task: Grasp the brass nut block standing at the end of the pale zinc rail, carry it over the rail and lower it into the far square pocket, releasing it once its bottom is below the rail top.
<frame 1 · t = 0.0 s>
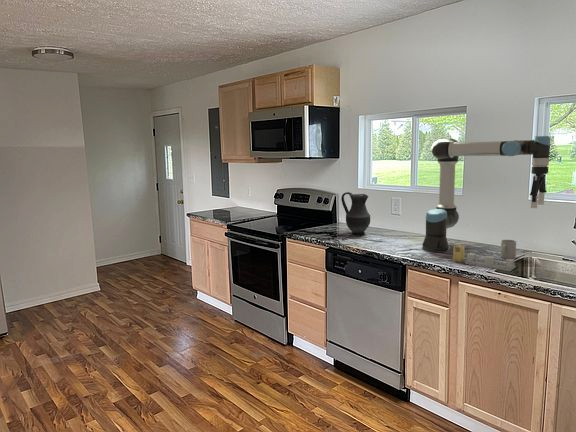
hand: (537, 206, 223), 28 cm above the worktop, fingers open, 13 cm apart
cup: (506, 257, 229), on the worktop
pitcher: (355, 234, 299), on the worktop
rail: (489, 265, 216), on the worktop
nut block: (458, 260, 227), on the worktop
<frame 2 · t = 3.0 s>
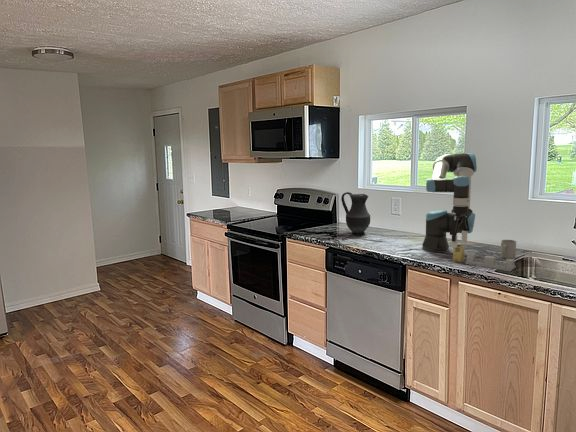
hand: (459, 245, 225), 9 cm above the worktop, fingers open, 13 cm apart
nothing on the worktop moved.
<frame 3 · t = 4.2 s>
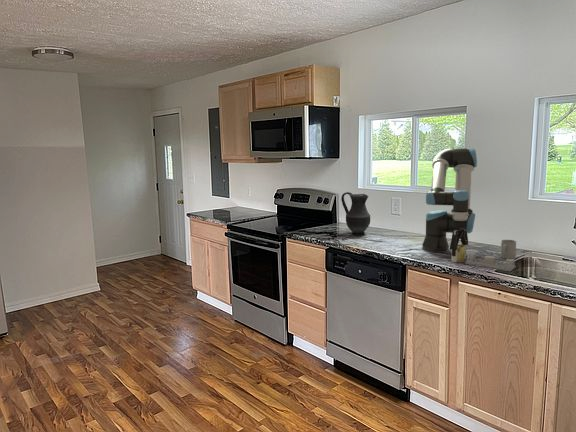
hand: (458, 259, 227), 1 cm above the worktop, fingers open, 12 cm apart
nothing on the worktop moved.
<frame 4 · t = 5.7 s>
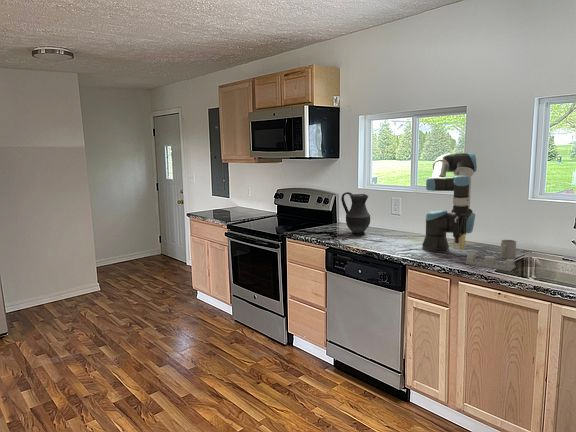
hand: (459, 247, 226), 7 cm above the worktop, fingers closed on nut block, 4 cm apart
nut block: (459, 248, 226), point 7 cm above the worktop, touching gripper
everything else where it was.
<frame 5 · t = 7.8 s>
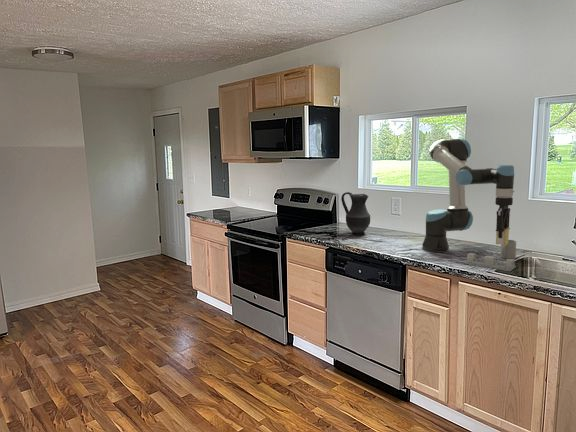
hand: (502, 243, 210), 13 cm above the worktop, fingers closed on nut block, 4 cm apart
nut block: (502, 243, 210), point 12 cm above the worktop, touching gripper
everything else where it was.
when the fingers open (3 cm above the worktop, at t = 9.8 s): nut block drops 2 cm, resting on rail.
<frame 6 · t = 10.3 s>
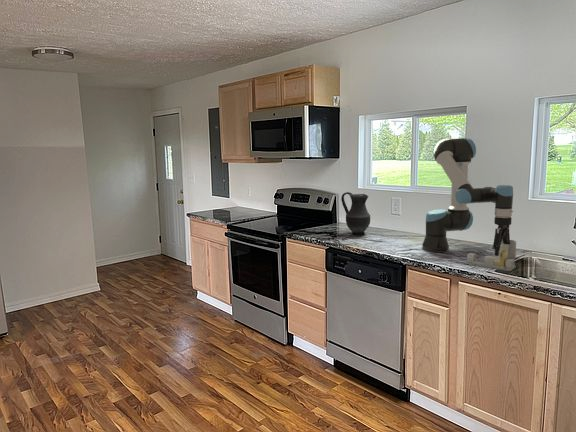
hand: (500, 259, 212), 4 cm above the worktop, fingers open, 11 cm apart
nut block: (500, 266, 212), point 1 cm above the worktop, touching rail
everything else where it was.
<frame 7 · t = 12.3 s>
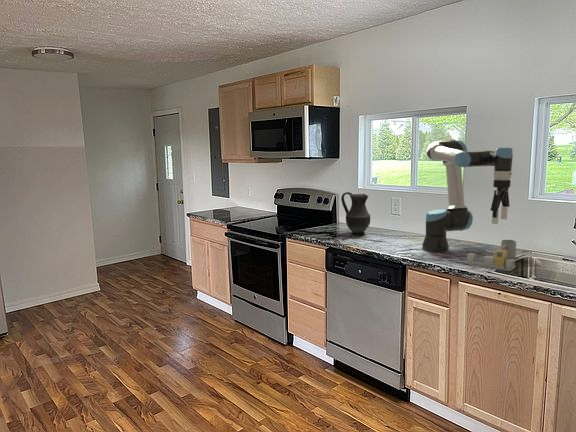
hand: (499, 221, 211), 23 cm above the worktop, fingers open, 13 cm apart
nothing on the worktop moved.
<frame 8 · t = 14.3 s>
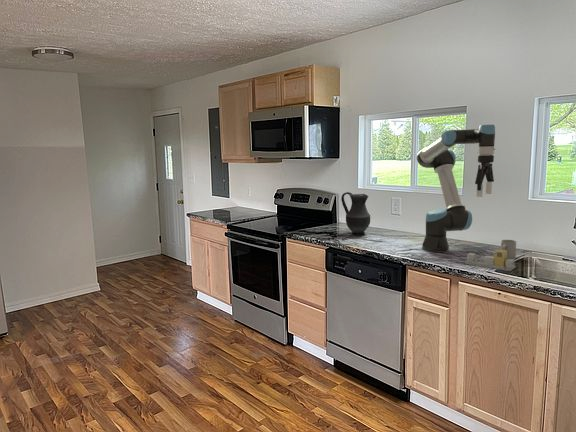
hand: (484, 195, 223), 35 cm above the worktop, fingers open, 13 cm apart
nothing on the worktop moved.
at the end: nut block 0.3 cm from the target spot on the rail, point 0.6 cm above the rail's base; nut block tilted 0°; the gripper is holding nothing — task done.
